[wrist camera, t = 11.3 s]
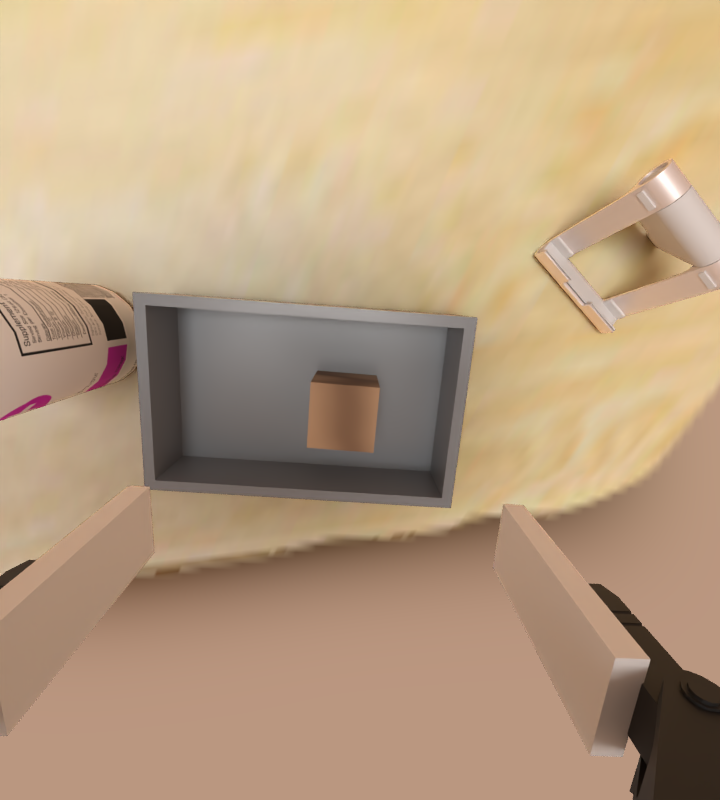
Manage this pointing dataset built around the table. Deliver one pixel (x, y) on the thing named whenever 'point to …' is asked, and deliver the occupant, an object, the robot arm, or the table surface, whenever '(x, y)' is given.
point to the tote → (297, 398)
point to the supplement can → (60, 342)
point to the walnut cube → (343, 411)
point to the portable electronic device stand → (667, 229)
